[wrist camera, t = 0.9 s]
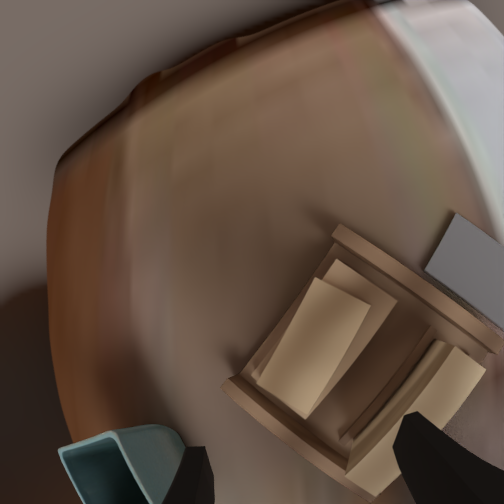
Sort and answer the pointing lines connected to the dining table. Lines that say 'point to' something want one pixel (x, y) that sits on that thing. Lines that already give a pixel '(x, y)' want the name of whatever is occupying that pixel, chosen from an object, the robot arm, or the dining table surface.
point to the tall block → (408, 401)
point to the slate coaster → (471, 268)
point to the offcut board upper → (313, 345)
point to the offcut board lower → (376, 315)
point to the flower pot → (124, 465)
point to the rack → (362, 358)
